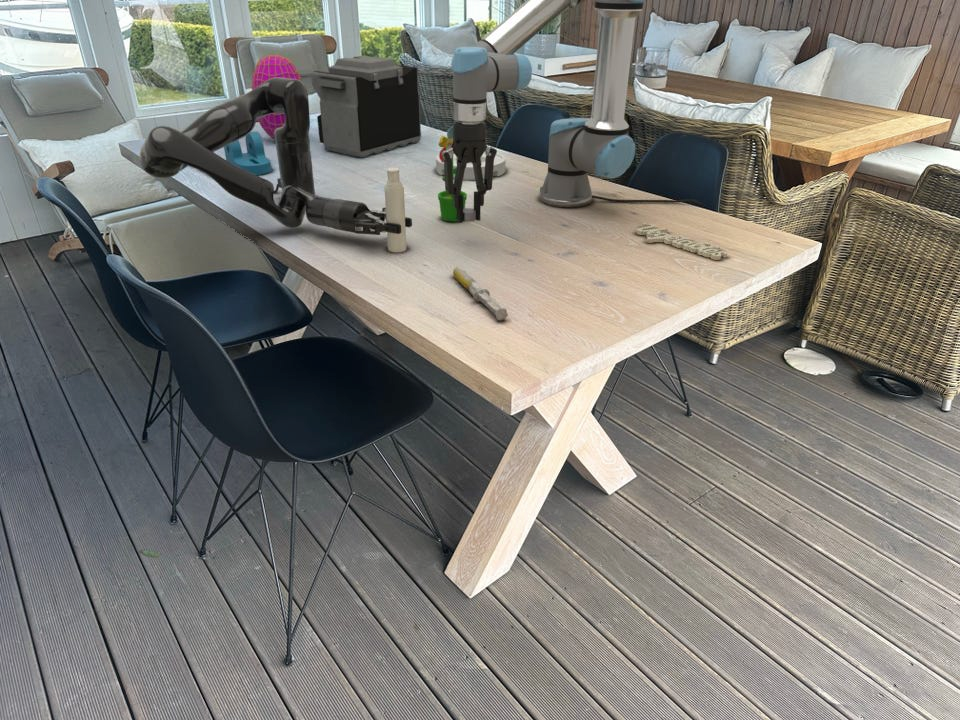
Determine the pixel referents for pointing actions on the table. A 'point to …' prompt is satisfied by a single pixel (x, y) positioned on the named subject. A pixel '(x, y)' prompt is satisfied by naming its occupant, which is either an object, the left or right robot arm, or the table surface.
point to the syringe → (479, 293)
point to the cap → (469, 214)
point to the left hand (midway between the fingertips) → (405, 226)
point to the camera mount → (249, 155)
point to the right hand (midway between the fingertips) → (468, 219)
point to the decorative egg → (267, 70)
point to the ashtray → (469, 171)
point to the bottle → (395, 210)
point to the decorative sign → (680, 242)
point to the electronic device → (367, 105)
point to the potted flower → (444, 197)
